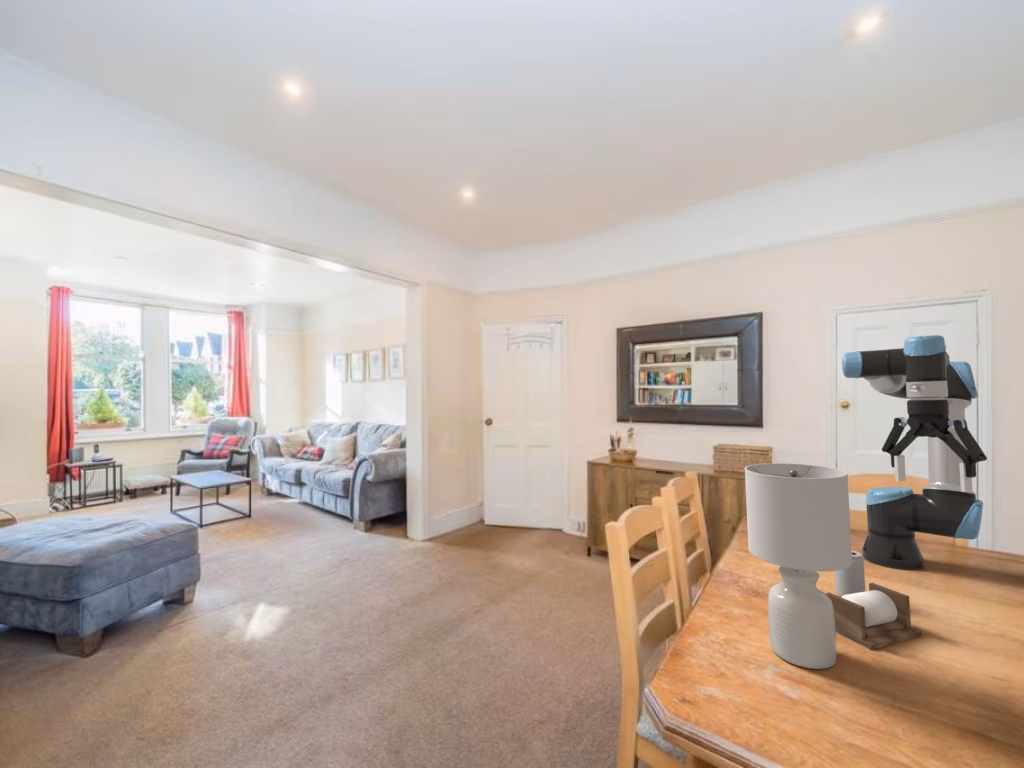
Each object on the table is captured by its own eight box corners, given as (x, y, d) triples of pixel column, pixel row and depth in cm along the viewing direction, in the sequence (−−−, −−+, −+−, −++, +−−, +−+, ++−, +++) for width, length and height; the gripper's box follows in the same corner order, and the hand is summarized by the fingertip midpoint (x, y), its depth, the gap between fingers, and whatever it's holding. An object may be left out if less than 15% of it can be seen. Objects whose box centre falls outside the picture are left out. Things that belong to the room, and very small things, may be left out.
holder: (866, 611, 113) (864, 579, 114) (921, 635, 102) (919, 599, 102) (818, 623, 109) (816, 589, 109) (871, 649, 97) (869, 612, 97)
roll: (866, 614, 110) (865, 585, 110) (898, 628, 103) (897, 597, 104) (838, 620, 107) (837, 590, 107) (869, 634, 100) (868, 602, 101)
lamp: (737, 631, 106) (729, 464, 107) (818, 630, 106) (810, 462, 106) (782, 683, 87) (773, 479, 88) (882, 681, 87) (871, 476, 88)
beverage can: (871, 603, 117) (868, 557, 118) (843, 602, 119) (841, 556, 119) (857, 592, 124) (855, 548, 124) (831, 591, 125) (829, 548, 125)
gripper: (863, 399, 122) (867, 478, 121) (983, 399, 98) (988, 497, 97) (882, 398, 124) (886, 476, 123) (1004, 398, 100) (1010, 494, 100)
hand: (931, 485), depth 110 cm, fingers open, 13 cm apart
